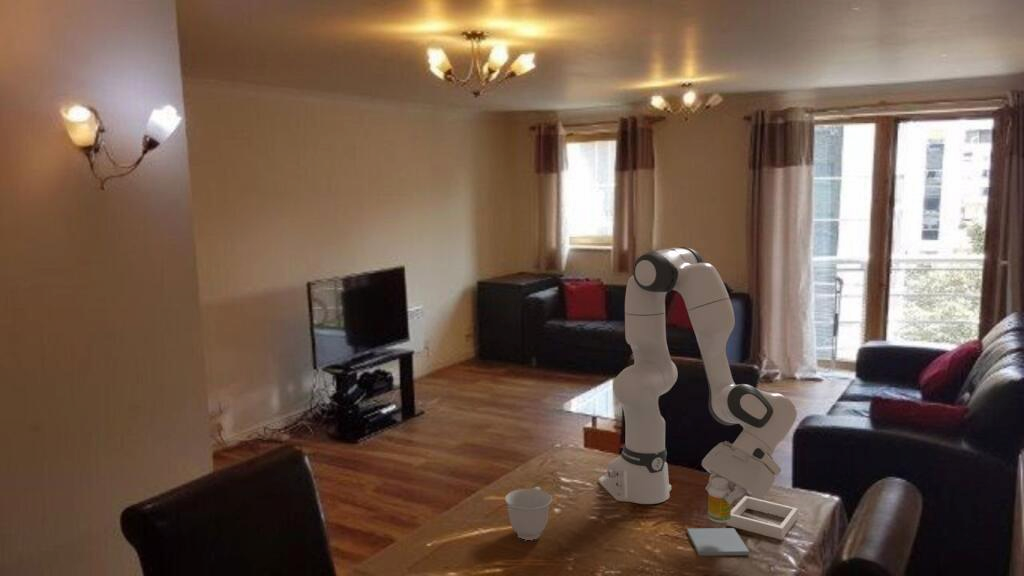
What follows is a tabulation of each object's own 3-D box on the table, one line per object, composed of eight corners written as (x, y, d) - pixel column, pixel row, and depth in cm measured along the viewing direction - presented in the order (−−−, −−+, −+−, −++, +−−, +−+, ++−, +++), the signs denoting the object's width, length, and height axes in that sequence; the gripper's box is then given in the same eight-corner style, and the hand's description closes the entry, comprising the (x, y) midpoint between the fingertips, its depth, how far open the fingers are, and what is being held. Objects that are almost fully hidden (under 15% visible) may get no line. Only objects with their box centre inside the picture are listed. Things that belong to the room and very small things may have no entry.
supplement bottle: (723, 525, 179) (724, 486, 178) (703, 518, 183) (704, 480, 182) (734, 518, 183) (735, 480, 182) (715, 511, 187) (715, 474, 186)
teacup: (560, 523, 195) (560, 487, 194) (544, 550, 181) (544, 511, 180) (517, 517, 199) (517, 481, 198) (498, 542, 185) (497, 504, 184)
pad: (687, 532, 190) (687, 528, 190) (733, 531, 190) (734, 528, 190) (699, 555, 178) (699, 551, 178) (749, 555, 178) (749, 551, 178)
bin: (726, 525, 194) (727, 514, 193) (744, 506, 205) (745, 495, 205) (781, 539, 186) (782, 528, 185) (797, 519, 197) (797, 508, 197)
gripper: (716, 432, 193) (684, 474, 190) (772, 458, 174) (738, 505, 172) (729, 446, 195) (698, 488, 193) (786, 473, 177) (752, 520, 174)
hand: (717, 496), depth 182 cm, fingers closed on supplement bottle, 5 cm apart
